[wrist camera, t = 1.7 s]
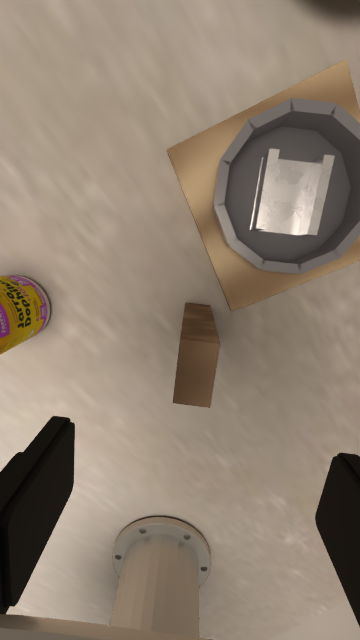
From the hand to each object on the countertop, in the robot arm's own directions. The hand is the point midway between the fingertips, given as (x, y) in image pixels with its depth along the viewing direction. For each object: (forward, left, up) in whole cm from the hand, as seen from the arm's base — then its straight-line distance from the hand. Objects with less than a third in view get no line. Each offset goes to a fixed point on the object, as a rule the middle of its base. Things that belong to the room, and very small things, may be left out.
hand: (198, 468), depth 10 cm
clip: (+8, -12, -20) cm, 24 cm away
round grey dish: (+8, -12, -20) cm, 24 cm away
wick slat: (0, 0, -21) cm, 21 cm away
